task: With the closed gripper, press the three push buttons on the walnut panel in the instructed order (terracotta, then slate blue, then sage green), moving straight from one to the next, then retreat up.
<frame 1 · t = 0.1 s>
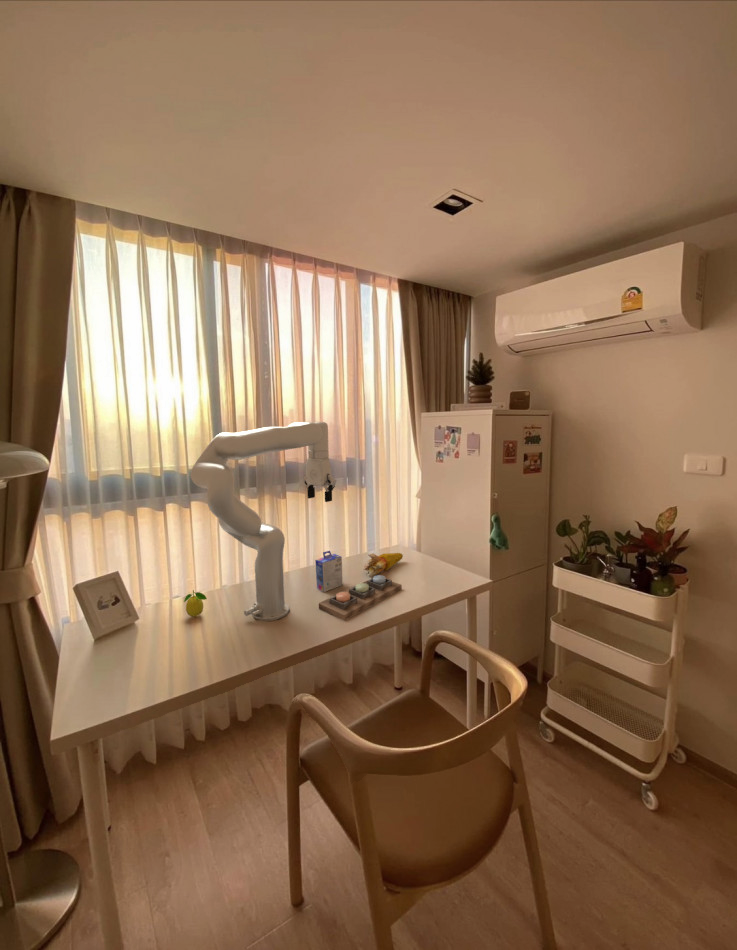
hand: (319, 499, 155), 37 cm above the table, tool pointing down, fingers open, 9 cm apart
button panel: (362, 598, 154), on the table
lemon: (196, 617, 141), on the table
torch: (385, 570, 181), on the table
button slate: (379, 580, 160), point 4 cm above the table, slide at 0.0 cm
ink cartridge box: (329, 587, 164), on the table
button sage: (362, 588, 153), point 4 cm above the table, slide at 0.0 cm
button terracotta: (343, 597, 146), point 4 cm above the table, slide at 0.0 cm
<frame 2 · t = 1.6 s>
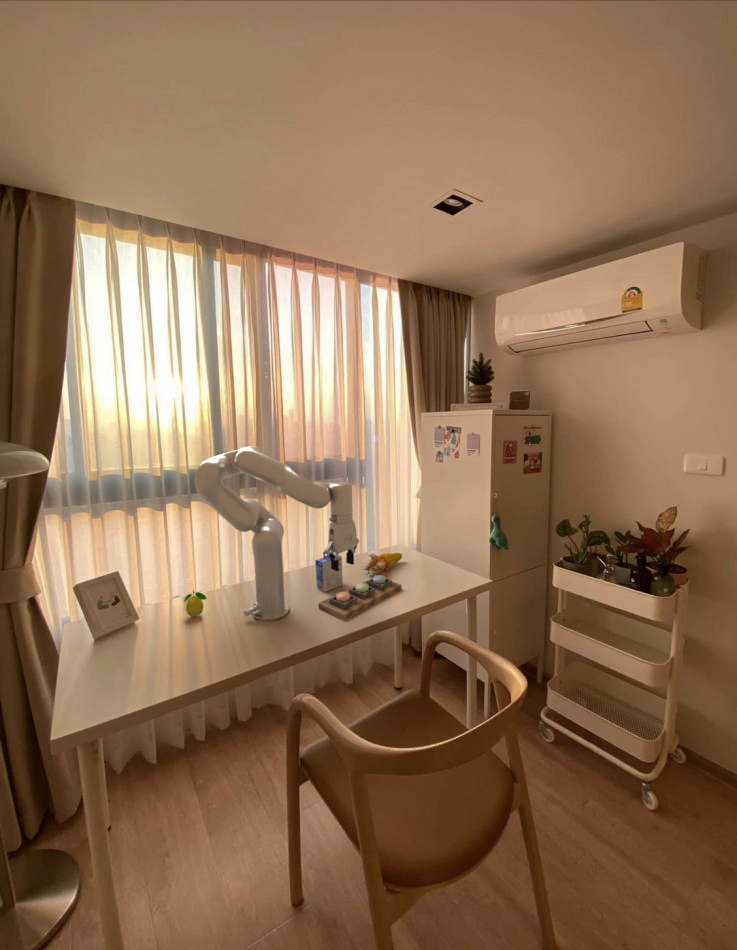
hand: (342, 566, 144), 16 cm above the table, tool pointing down, fingers open, 6 cm apart
nothing on the table moved.
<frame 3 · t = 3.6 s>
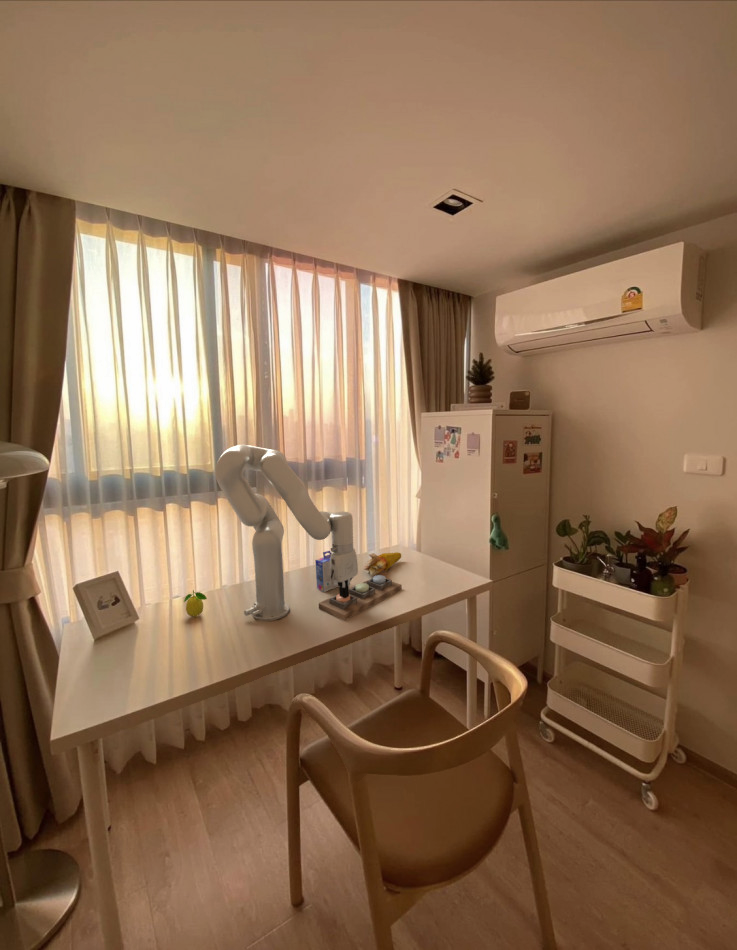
hand: (344, 596, 146), 5 cm above the table, tool pointing down, fingers closed
button terracotta: (343, 599, 146), point 3 cm above the table, slide at 0.6 cm, touching gripper
everything else where it was.
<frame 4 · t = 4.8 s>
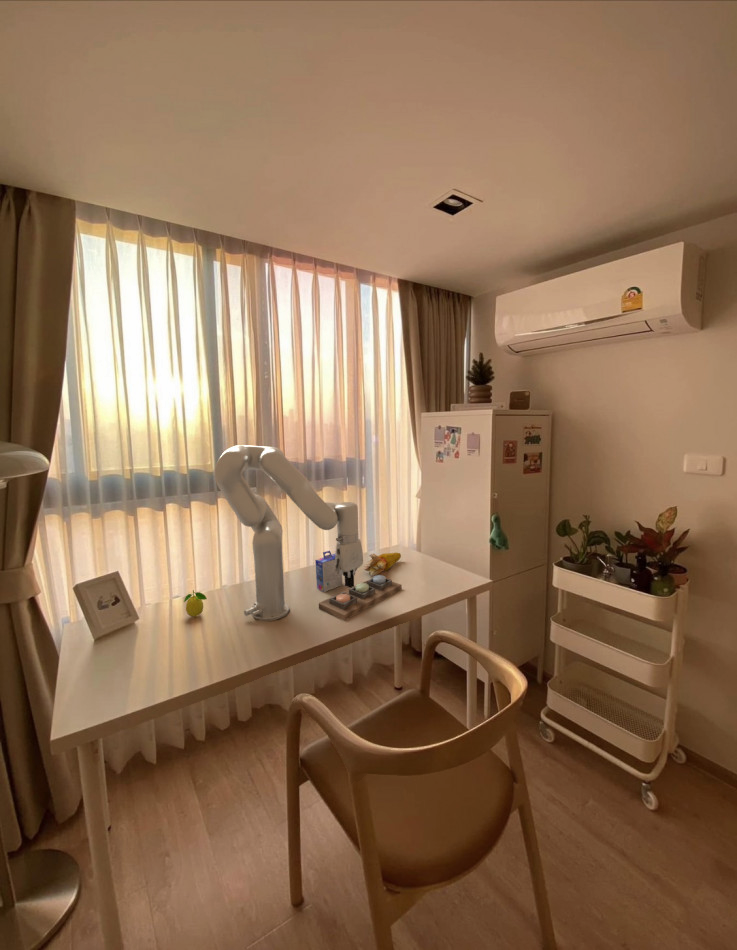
hand: (349, 586, 147), 7 cm above the table, tool pointing down, fingers closed
button terracotta: (343, 599, 146), point 3 cm above the table, slide at 0.8 cm
everything else where it was.
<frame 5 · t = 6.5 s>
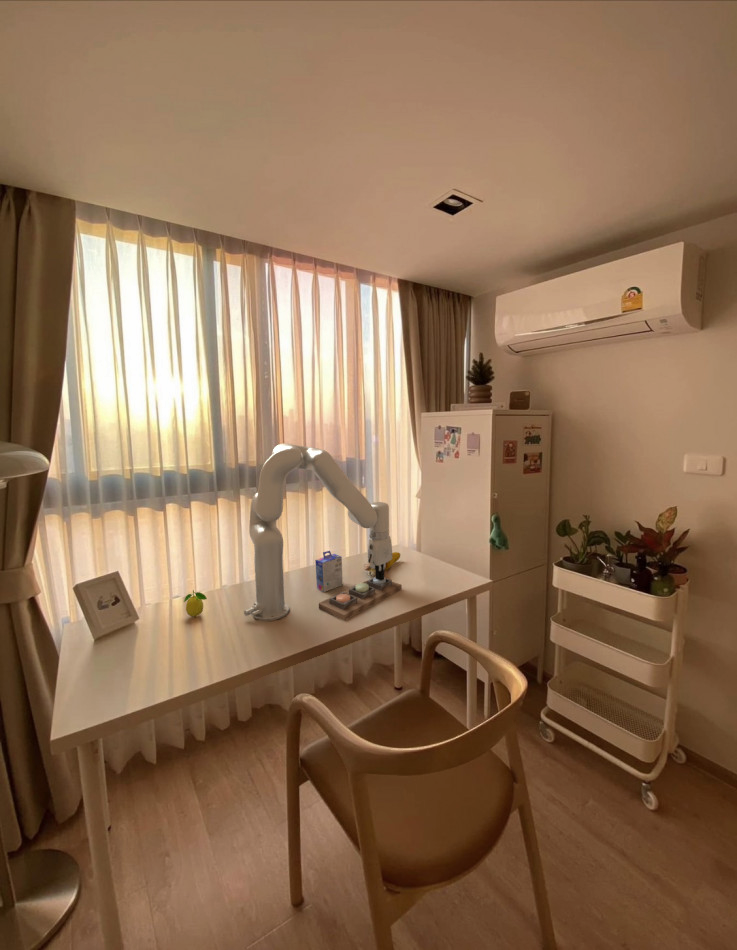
hand: (379, 578, 160), 4 cm above the table, tool pointing down, fingers closed
button slate: (379, 581, 160), point 3 cm above the table, slide at 0.6 cm, touching gripper
everything else where it was.
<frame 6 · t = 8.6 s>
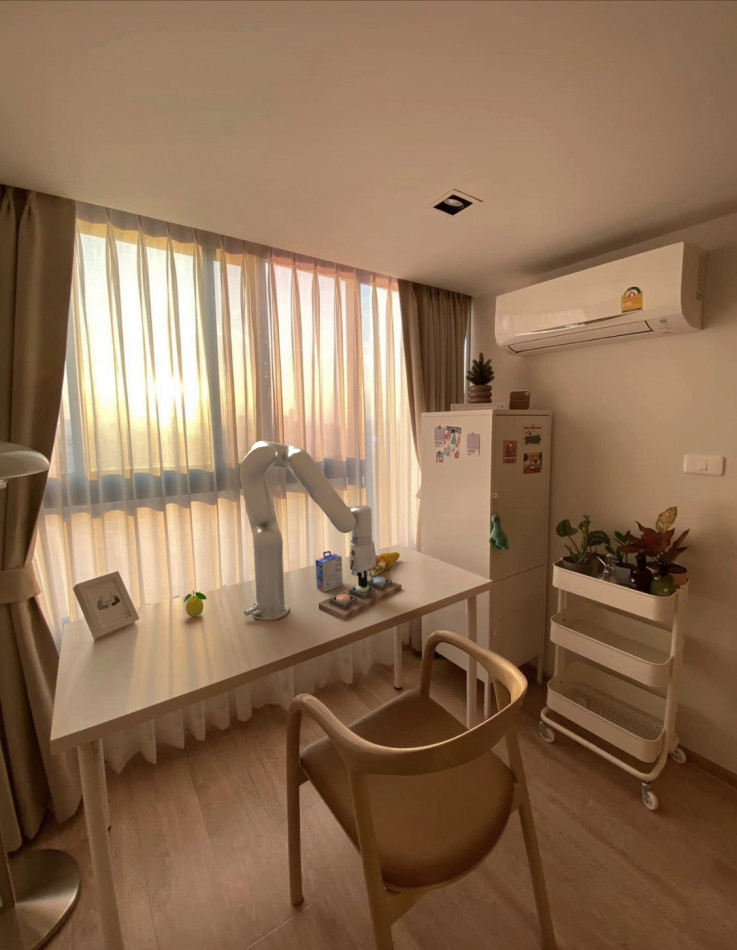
hand: (362, 586, 153), 5 cm above the table, tool pointing down, fingers closed
button slate: (379, 582, 160), point 3 cm above the table, slide at 0.8 cm
button sage: (362, 588, 153), point 4 cm above the table, slide at 0.1 cm, touching gripper
everything else where it was.
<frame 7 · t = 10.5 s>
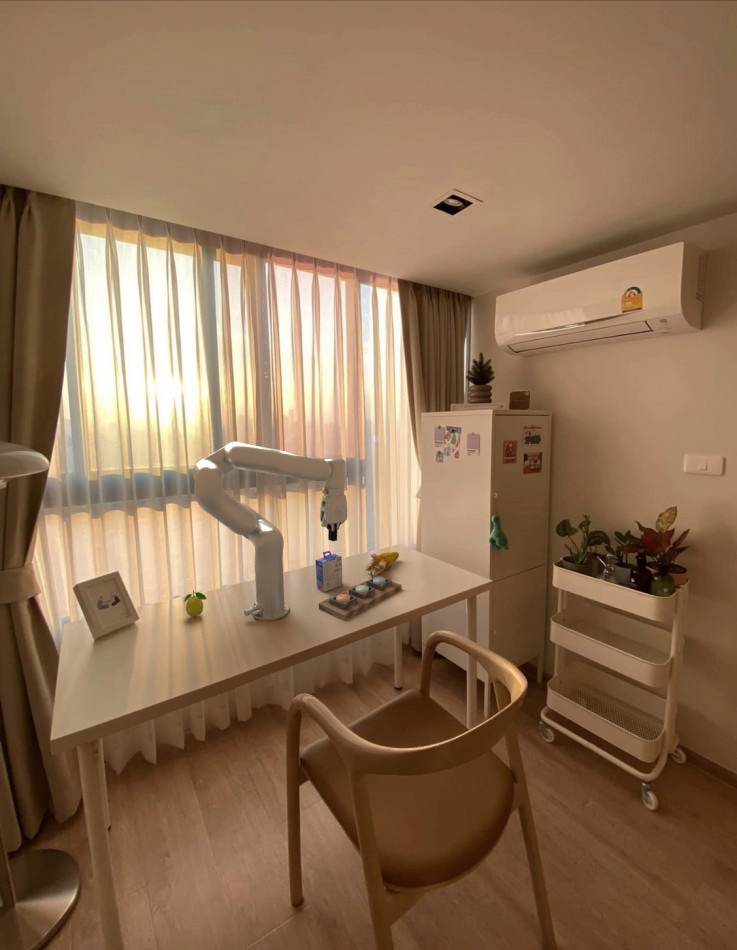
hand: (332, 540, 151), 23 cm above the table, tool pointing down, fingers closed
button sage: (362, 590, 153), point 3 cm above the table, slide at 0.8 cm
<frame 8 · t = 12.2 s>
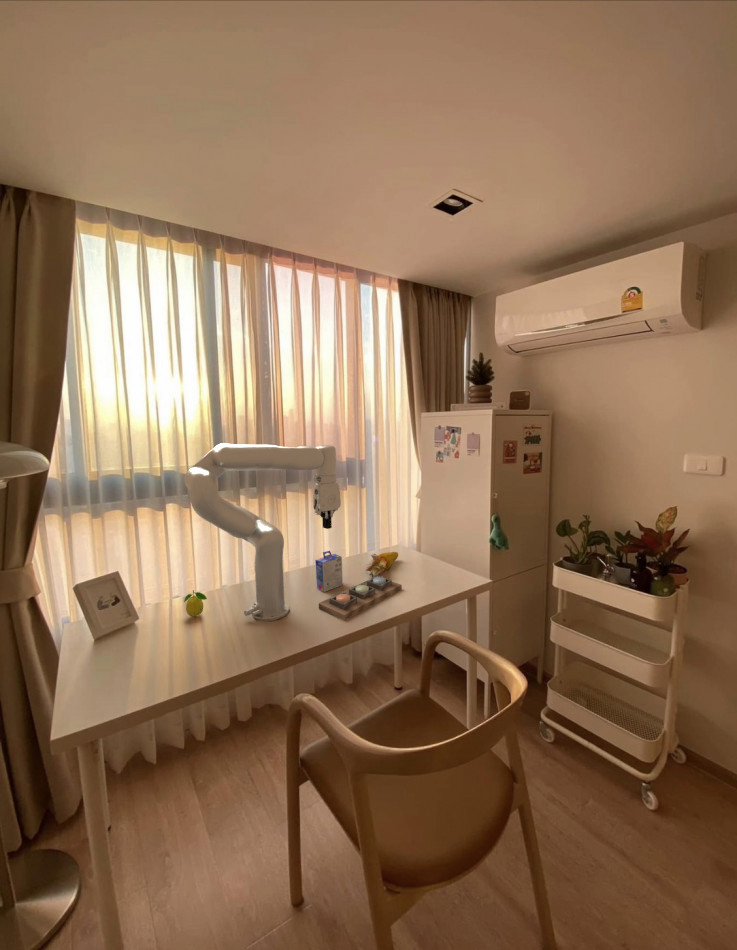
hand: (327, 527, 151), 27 cm above the table, tool pointing down, fingers closed
at the end: button terracotta slide at 0.8 cm; button slate slide at 0.8 cm; button sage slide at 0.8 cm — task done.
